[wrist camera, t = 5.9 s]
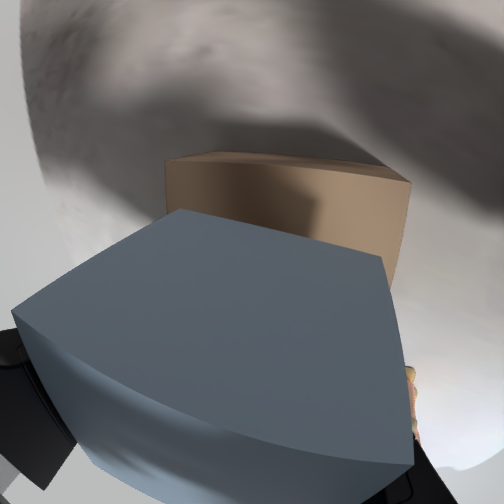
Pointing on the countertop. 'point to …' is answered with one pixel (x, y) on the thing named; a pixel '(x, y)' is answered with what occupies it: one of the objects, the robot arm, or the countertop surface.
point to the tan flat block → (297, 197)
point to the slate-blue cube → (227, 364)
